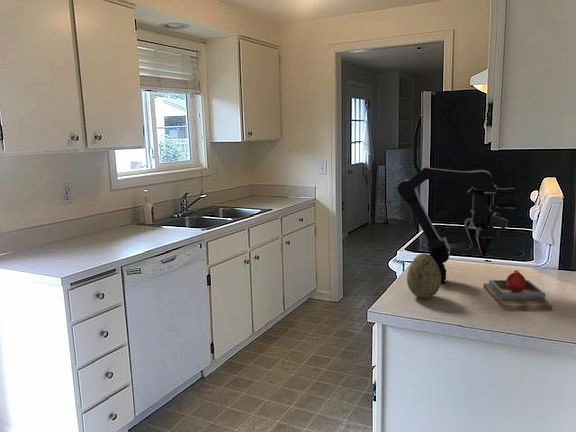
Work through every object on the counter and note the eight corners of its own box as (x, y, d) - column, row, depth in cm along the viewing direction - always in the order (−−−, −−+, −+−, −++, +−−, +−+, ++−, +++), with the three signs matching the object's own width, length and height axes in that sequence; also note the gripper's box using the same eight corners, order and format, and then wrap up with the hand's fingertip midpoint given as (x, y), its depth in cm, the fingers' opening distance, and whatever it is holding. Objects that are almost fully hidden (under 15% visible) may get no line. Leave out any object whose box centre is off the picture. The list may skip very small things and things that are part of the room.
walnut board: (503, 309, 142) (503, 305, 142) (483, 287, 162) (483, 283, 162) (552, 310, 141) (552, 305, 141) (525, 287, 160) (525, 283, 160)
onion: (508, 289, 155) (510, 266, 154) (527, 293, 151) (529, 269, 150) (503, 294, 151) (504, 270, 149) (522, 298, 147) (524, 273, 146)
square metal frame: (502, 300, 146) (502, 293, 145) (489, 287, 158) (489, 280, 157) (544, 301, 144) (545, 293, 144) (528, 287, 157) (528, 280, 156)
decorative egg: (401, 299, 153) (402, 255, 150) (413, 289, 162) (414, 247, 159) (434, 306, 147) (435, 259, 144) (444, 295, 156) (446, 251, 153)
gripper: (516, 212, 150) (513, 259, 153) (496, 202, 168) (494, 244, 171) (480, 212, 151) (478, 259, 154) (464, 203, 169) (462, 245, 172)
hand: (479, 251), depth 163 cm, fingers open, 9 cm apart
